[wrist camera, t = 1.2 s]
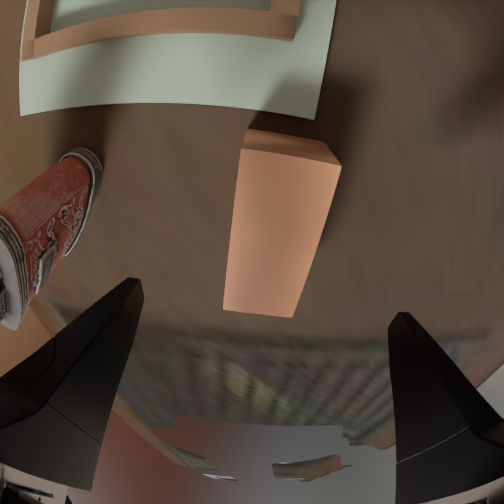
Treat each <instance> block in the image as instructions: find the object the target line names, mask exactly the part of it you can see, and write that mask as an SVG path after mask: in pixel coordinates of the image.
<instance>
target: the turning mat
mask: <svg viewBox="0 0 504 504" xmlns="http://www.w3.org/2000/svg"><path fill="white" fill-rule="evenodd" d="M336 1H337V0H27V5H26V10H25V16H24V23H23V31H22V40H21V51H20V73H19V92H20V114H21V116H23V115H28V114H33V113H39V112H45V111H51V110H57V109H64V108H72V107H81V106H90V105H102V104H119V103H189V104H206V105H218V106H229V107H238V108H247V109H254V110H261V111H268V112H275V113H281V114H286V115H292V116H297V117H302V118H307V119H312V120H314V119H315V114H316V109H317V104H318V100H319V95H320V90H321V85H322V79H323V74H324V69H325V64H326V58H327V53H328V48H329V42H330V36H331V31H332V25H333V19H334V13H335V7H336Z"/></svg>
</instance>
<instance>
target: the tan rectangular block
mask: <svg viewBox="0 0 504 504" xmlns="http://www.w3.org/2000/svg"><path fill="white" fill-rule="evenodd" d="M341 168H342V166H341V164H340V163H339V161H338V160H337V159H336V157H335V156H334V154H333V153H332V152H331V150H330V149H329V148H328V146H327V145H326V143H325V142H322V141H317V140H312V139H307V138H302V137H297V136H292V135H286V134H281V133H275V132H268V131H262V130H255V129H248V128H247V131H246V134H245V137H244V141H243V144H242V147H241V153H240V161H239V169H238V177H237V185H236V193H235V201H234V210H233V218H232V227H231V236H230V245H229V254H228V264H227V273H226V283H225V293H224V303H223V309H224V310H231V311H238V312H246V313H254V314H263V315H272V316H281V317H291V318H292V317H293V314H294V311H295V309H296V306H297V303H298V300H299V298H300V295H301V292H302V289H303V287H304V284H305V281H306V278H307V275H308V273H309V270H310V267H311V264H312V261H313V258H314V255H315V252H316V249H317V246H318V243H319V240H320V237H321V234H322V231H323V228H324V225H325V221H326V218H327V215H328V212H329V209H330V205H331V202H332V199H333V195H334V192H335V189H336V185H337V182H338V178H339V175H340V171H341Z"/></svg>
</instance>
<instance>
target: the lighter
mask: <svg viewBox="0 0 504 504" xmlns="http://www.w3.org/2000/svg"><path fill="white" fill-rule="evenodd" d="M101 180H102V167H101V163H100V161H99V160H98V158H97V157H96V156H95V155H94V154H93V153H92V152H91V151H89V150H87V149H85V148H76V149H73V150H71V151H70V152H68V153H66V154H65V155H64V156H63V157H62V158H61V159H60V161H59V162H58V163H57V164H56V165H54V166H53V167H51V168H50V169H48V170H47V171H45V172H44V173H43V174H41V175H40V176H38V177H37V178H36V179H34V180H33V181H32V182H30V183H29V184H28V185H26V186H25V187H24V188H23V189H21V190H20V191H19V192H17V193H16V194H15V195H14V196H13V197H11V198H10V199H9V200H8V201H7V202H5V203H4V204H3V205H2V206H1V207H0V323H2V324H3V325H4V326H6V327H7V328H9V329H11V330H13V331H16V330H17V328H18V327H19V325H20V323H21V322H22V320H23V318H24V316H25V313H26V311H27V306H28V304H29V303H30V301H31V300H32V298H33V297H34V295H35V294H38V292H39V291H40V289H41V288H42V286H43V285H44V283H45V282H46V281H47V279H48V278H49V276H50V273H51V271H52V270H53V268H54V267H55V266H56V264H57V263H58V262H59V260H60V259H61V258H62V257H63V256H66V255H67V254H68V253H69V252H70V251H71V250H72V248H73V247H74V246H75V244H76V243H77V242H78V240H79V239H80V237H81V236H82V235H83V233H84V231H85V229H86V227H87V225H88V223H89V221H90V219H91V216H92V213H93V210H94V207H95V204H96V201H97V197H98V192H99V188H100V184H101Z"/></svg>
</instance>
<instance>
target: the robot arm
mask: <svg viewBox="0 0 504 504" xmlns="http://www.w3.org/2000/svg"><path fill="white" fill-rule="evenodd" d="M143 302H144V294H143V289H142V284H141V280H140V279H137V278H132V277H129V278H127V279H125V280H124V281H123V282H121V283H120V284H119V285H117V286H116V287H115V288H114V289H112V290H111V291H110V292H108V293H107V294H106V295H104V296H103V297H102V298H101V299H99V300H98V301H97V302H96V303H94V304H93V305H92V306H90V307H89V308H88V309H87V310H85V311H84V312H83V313H82V314H81V315H79V316H78V317H77V318H76V319H74V320H73V321H72V322H71V323H69V324H68V325H67V326H66V327H65V328H63V329H62V330H61V331H60V332H59V333H57V334H56V335H55V337H53V338H51V339H50V340H49V341H48V342H47V343H46V344H44V345H43V346H42V347H41V348H39V349H38V350H37V351H36V352H34V353H33V354H32V355H30V356H29V357H28V358H26V359H25V360H24V361H22V362H21V363H19V364H18V365H17V366H15V367H14V368H13V369H11V370H10V371H8V372H7V373H6V374H4V375H3V376H1V377H0V504H72V502H71V501H70V499H69V498H68V496H67V490H68V486H70V487H74V488H78V489H83V490H88V491H91V488H92V484H93V479H94V474H95V470H96V465H97V461H98V457H99V453H100V449H101V445H102V444H101V443H102V441H103V437H104V433H105V429H106V426H107V422H108V419H109V415H110V412H111V408H112V405H113V402H114V399H115V395H116V392H117V389H118V386H119V383H120V380H121V377H122V374H123V371H124V368H125V365H126V362H127V359H128V356H129V353H130V350H131V348H132V345H133V342H134V338H135V334H136V330H137V326H138V322H139V318H140V314H141V310H142V306H143ZM388 345H389V366H390V376H391V384H392V394H393V404H394V417H395V433H396V463H397V464H396V498H395V504H422V503H426V502H430V504H504V419H503V418H502V417H501V416H500V415H499V414H498V413H497V412H496V411H495V410H494V409H493V408H492V407H491V405H490V404H489V403H488V402H487V401H486V400H485V399H484V398H483V397H482V395H480V393H479V392H478V391H477V390H476V389H475V387H474V386H473V385H472V384H471V383H470V381H469V380H468V379H467V378H466V377H465V375H464V374H463V373H462V372H461V370H460V369H459V368H458V367H457V366H456V364H455V363H454V362H453V361H452V360H451V358H450V357H449V356H448V355H447V354H446V353H445V352H444V350H443V349H442V348H441V347H440V346H439V345H438V344H437V342H436V341H435V340H434V339H433V338H432V337H431V336H430V335H429V333H428V332H427V331H426V330H425V329H424V328H423V327H422V326H421V325H420V324H419V323H418V321H417V320H416V319H415V318H414V317H413V316H412V315H411V314H410V313H409V312H399V313H398V314H397V315H396V316H395V318H394V319H393V321H392V322H391V323H390V325H389V327H388Z"/></svg>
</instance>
